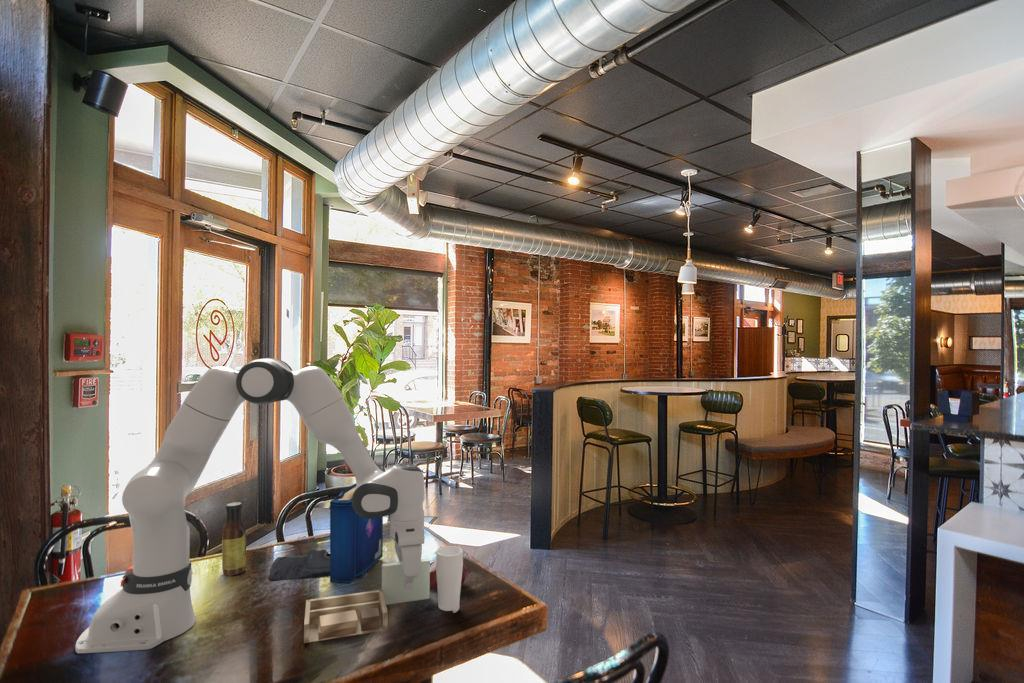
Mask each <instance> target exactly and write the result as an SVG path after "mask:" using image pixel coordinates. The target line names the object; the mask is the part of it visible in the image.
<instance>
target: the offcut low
mask: <svg viewBox="0 0 1024 683" xmlns="http://www.w3.org/2000/svg"><path fill="white" fill-rule="evenodd" d="M350 634H356V627H352V628H347V629H342V630H336V631H331V632H326V633H321V631H320V623H319V632H318V639H324V638H331V637H337V636H343V635H350Z"/></svg>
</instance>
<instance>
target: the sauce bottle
mask: <svg viewBox="0 0 1024 683" xmlns="http://www.w3.org/2000/svg"><path fill="white" fill-rule="evenodd" d="M242 507H243V506H242V502H241V501H237V502H235V501H233V502H230V503H227V504H226V506H225V510H226V521H225V524H224V525H223V527H222V531H221V532H222V538H221V561H222V562H221V569H222V573H223V575H224V576H230V577H232V576H237V575H240V574H242V573H244V572H245V571H246V566H247V529H246V527H245V523H244V521H243V519H242Z"/></svg>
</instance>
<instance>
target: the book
mask: <svg viewBox="0 0 1024 683" xmlns="http://www.w3.org/2000/svg"><path fill="white" fill-rule="evenodd" d="M355 488H356V483H354V484H352V485H350V486H349V487H347V488H346V489H344V490H342V491H341V492H340V493H339V495H338V496H335V497H333V499H331V500H330V501H329V516H330V517H329V553H330V576H329V583H335V584H350V583H352V582H354V581H355V580H357V579H360V578H361V577H362V576H363V575H364V574H366V573H367V572H368V571H369V570H370V569H372V568H373V567H374V566H375V565H376V564H377V563H378V562H379V561H380V560H381V559H382V558H383V557H384V556H383V555H384V554H383V553H384V551H383V550H384V549H383V548H384V547H383V545H384V544H383V543H384V541H383V540H384V539H383V538H384V537H383V536H384V535H383V534H384V530H383V529H384V527H383V526H384V525H383V524H384V518H383V517H384V516H383V517H379V518H373V519H366V518H363V517H361V516H359V515H358V514H357V513H356V512H355V511H354V509H353V506H352V496H353V493H354V491H355Z"/></svg>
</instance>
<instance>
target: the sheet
mask: <svg viewBox="0 0 1024 683" xmlns="http://www.w3.org/2000/svg"><path fill="white" fill-rule="evenodd" d="M430 563H431V560H430V558H421V566H420V573H419V576H418V577H414V580H413V588H412V590H406V589H405V577H404V575H403V572H402V569H401V566H400V563H399V561H397V562H388V563H382V564H381V590H383V594H384V598H385V603H386V606H387V605H394V604H401V603H402V604H403V603H407V602H414V601H422V600H429V599H430V590H431V589H430Z"/></svg>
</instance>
